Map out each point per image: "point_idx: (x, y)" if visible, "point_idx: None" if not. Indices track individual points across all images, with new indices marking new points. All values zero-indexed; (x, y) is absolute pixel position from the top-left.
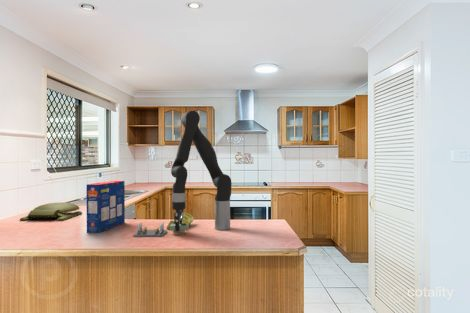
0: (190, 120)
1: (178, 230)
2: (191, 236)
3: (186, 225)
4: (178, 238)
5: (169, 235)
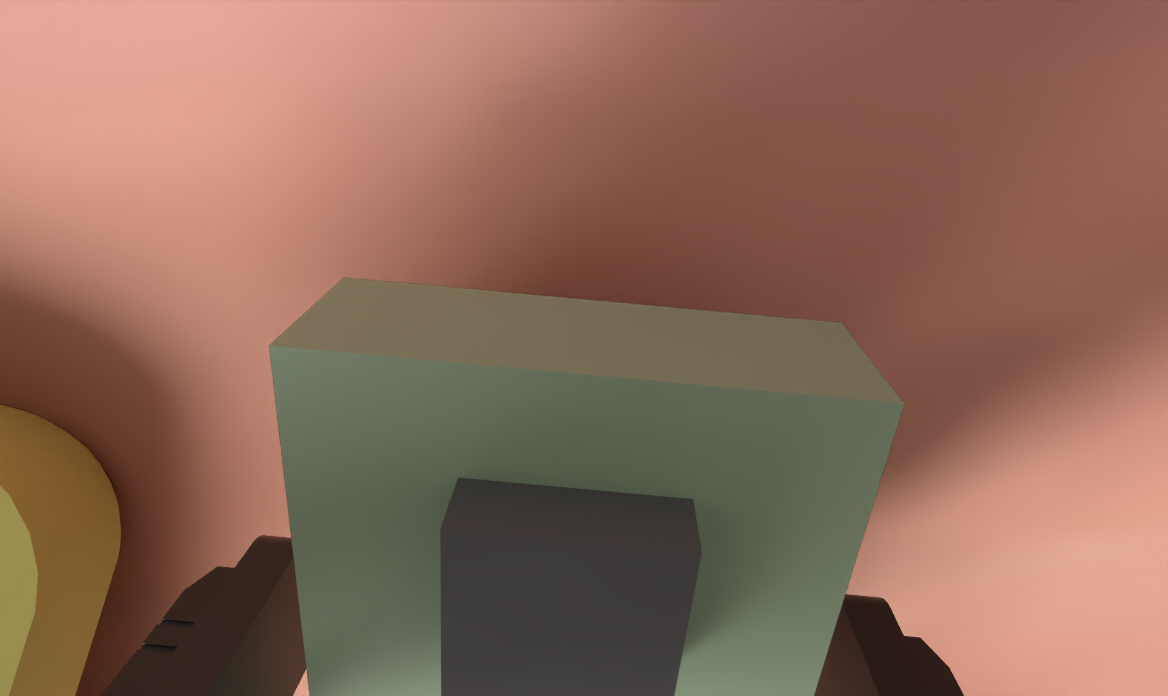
0: None
1: (881, 616)
2: (1028, 74)
3: (701, 444)
4: (1145, 474)
5: None
